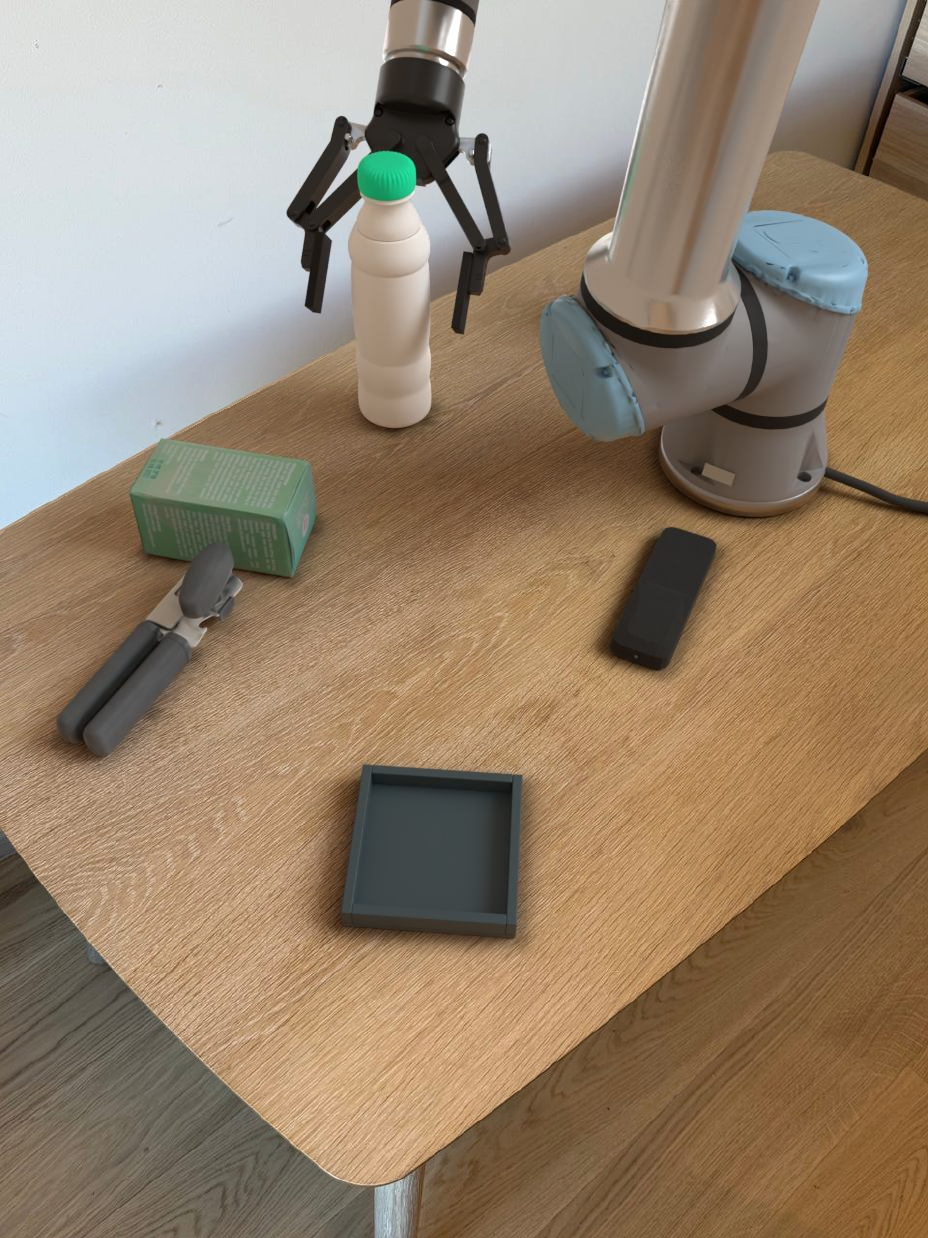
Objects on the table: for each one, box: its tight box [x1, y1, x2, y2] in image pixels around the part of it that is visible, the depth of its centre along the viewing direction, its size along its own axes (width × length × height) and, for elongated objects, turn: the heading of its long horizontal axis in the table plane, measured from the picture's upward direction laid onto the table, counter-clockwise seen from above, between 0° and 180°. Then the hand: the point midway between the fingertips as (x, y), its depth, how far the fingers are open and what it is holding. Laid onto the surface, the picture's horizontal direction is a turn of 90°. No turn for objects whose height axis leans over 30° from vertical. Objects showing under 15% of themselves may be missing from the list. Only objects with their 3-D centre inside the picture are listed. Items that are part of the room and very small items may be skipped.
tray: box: [340, 763, 523, 939], centre depth 75 cm, size 11×11×2 cm
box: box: [128, 437, 317, 579], centre depth 93 cm, size 7×14×8 cm, turn 79°
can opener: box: [55, 542, 244, 757], centre depth 84 cm, size 19×5×6 cm, turn 154°
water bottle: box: [347, 151, 432, 429], centre depth 98 cm, size 7×7×25 cm
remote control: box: [609, 526, 717, 671], centre depth 91 cm, size 5×2×15 cm
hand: (384, 320), depth 97 cm, fingers open, 12 cm apart
